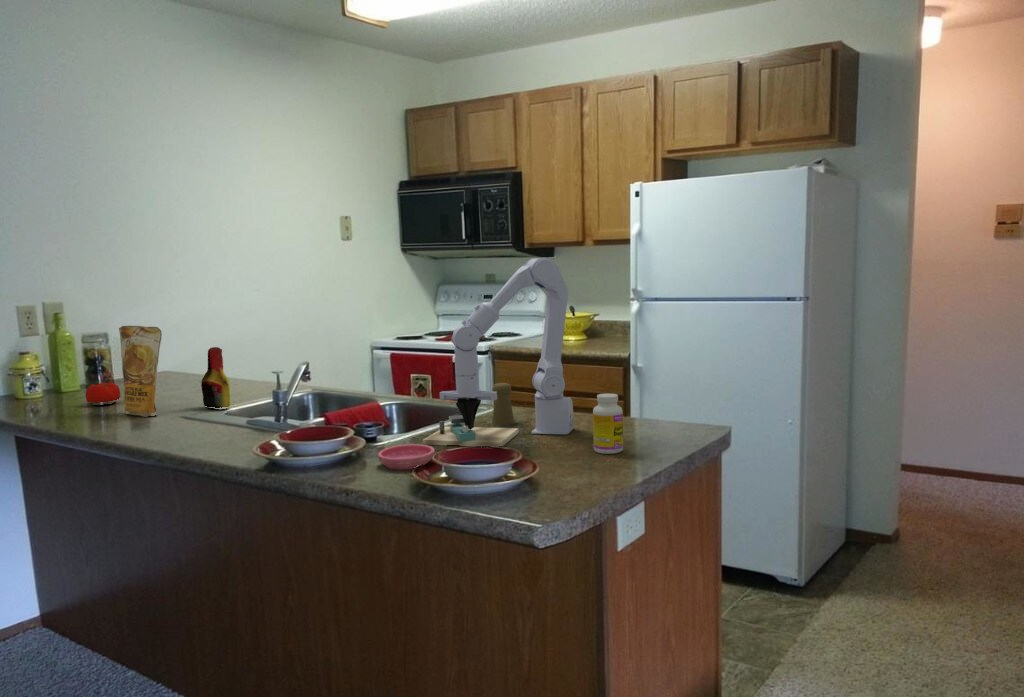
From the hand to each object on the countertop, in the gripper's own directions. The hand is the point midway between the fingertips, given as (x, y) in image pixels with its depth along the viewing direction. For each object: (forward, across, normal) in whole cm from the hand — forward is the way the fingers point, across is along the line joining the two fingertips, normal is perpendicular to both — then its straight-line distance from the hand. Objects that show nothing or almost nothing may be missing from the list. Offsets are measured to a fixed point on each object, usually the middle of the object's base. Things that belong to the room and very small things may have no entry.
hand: (470, 428), depth 190 cm
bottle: (+2, +97, -27) cm, 101 cm away
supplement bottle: (+3, -36, +7) cm, 37 cm away
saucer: (+3, +6, +25) cm, 26 cm away
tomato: (+2, +146, -30) cm, 148 cm away
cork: (+3, -3, -18) cm, 18 cm away
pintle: (+1, -1, +6) cm, 6 cm away
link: (+1, +1, +2) cm, 3 cm away
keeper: (+2, +6, -3) cm, 7 cm away
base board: (+2, 0, 0) cm, 3 cm away
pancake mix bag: (+2, +116, -16) cm, 117 cm away
